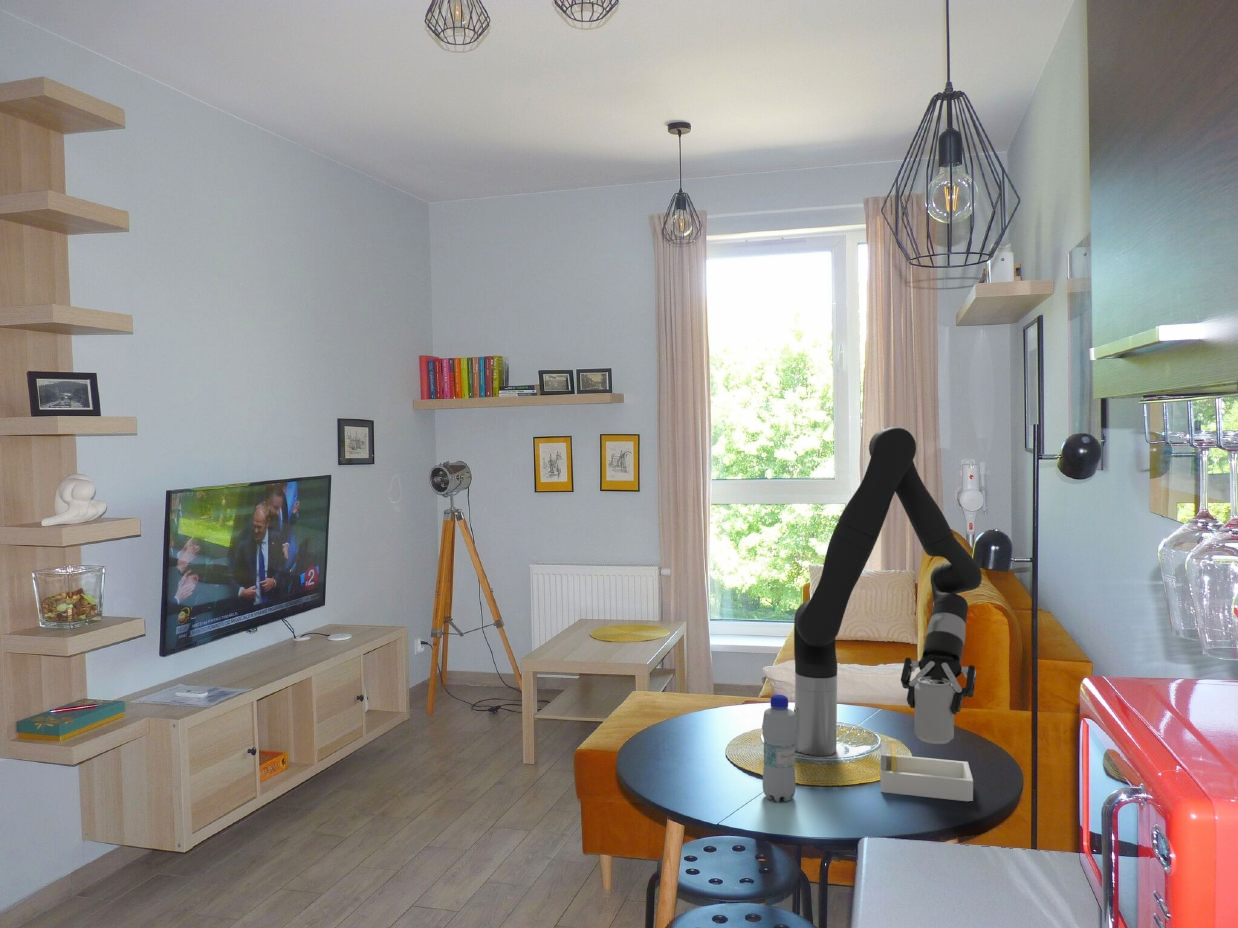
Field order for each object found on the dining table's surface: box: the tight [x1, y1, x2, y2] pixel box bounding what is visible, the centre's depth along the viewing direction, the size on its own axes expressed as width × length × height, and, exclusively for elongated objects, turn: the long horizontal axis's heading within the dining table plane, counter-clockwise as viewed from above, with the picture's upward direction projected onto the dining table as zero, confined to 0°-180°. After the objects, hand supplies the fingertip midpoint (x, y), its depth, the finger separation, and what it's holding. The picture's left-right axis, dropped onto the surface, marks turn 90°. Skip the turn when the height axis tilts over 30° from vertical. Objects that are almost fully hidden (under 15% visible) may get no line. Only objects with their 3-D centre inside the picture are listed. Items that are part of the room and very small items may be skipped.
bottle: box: [761, 694, 797, 803], centre depth 175 cm, size 7×7×20 cm
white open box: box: [880, 740, 974, 802], centre depth 181 cm, size 17×11×7 cm, turn 74°
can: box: [913, 677, 955, 745], centre depth 180 cm, size 8×8×12 cm
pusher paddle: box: [890, 743, 898, 772], centre depth 182 cm, size 1×8×6 cm, turn 164°
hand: (932, 709), depth 179 cm, fingers closed on can, 7 cm apart
